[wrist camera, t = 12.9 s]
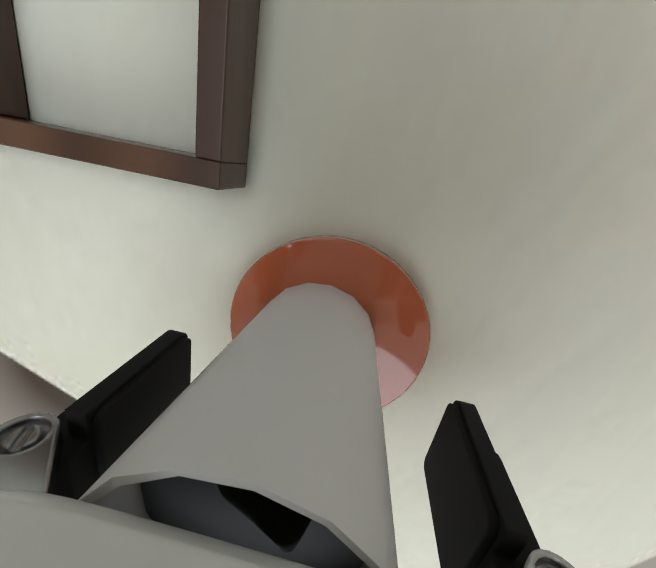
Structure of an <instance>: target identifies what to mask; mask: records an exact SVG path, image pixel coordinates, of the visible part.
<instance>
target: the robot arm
mask: <svg viewBox="0 0 656 568" xmlns="http://www.w3.org/2000/svg"><path fill="white" fill-rule="evenodd" d="M190 374H191V340H190V339H189V338H188V336H187V334H186V333H182V332H178V331H174V330H168V331H167V332H165V333H164V334H163V335H162V336H160V337H159V338H158V339H156V340H155V341H154V342H152V343H151V344H150V345H148V346H147V347H146V348H145V349H143V350H142V351H141V352H139V353H138V354H137V355H135V356H134V357H133V358H132V359H130V360H129V361H128V362H126V363H125V364H124V365H122V366H121V367H120V368H118V369H117V370H116V371H115V372H113V373H112V374H111V375H109V376H108V377H107V378H105V379H104V380H103V381H102V382H100V383H99V384H98V385H96V386H95V387H94V388H92V389H91V390H90V391H88V392H87V393H86V394H85V395H83V396H82V397H81V398H79V399H78V400H77V401H75V402H74V403H73V404H72V405H70V406H69V407H68V408H66V409H65V411H64V412H63V413H61V414H60V415H59V416H57V417H56V416H55V415H52V414H50V413H40V412H39V413H31V414H26V415H23V416H19V417H16V418H14V419H11V420H9V421H7V422H5V423H3V424H1V425H0V568H314V567H310V566H307V565H304V564H300V563H297V562H293V561H290V560H287V559H283V558H280V557H277V556H273V555H270V554H266V553H263V552H260V551H256V550H253V549H249V548H246V547H243V546H239V545H236V544H232V543H229V542H225V541H222V540H219V539H215V538H212V537H208V536H205V535H201V534H198V533H195V532H191V531H188V530H184V529H181V528H177V527H174V526H170V525H167V524H163V523H160V522H156V521H153V520H149V519H146V518H142V517H139V516H135V515H132V514H128V513H125V512H121V511H118V510H114V509H110V508H106V507H102V506H99V505H95V504H91V503H87V502H83V501H80V500H79V498H80V497H81V496H82V495H83V494H84V493H85V492H86V491H87V490H88V489H89V488H90V487H91V486H92V485H93V484H94V483H95V482H96V481H97V480H98V479H99V478H100V477H101V476H102V475H103V474H104V473H105V472H106V471H107V470H108V469H109V467H110V466H111V465H112V464H113V463H114V462H115V461H116V460H117V459H118V458H119V457H120V456H121V455H122V454H123V453H124V452H125V451H126V450H127V449H128V448H129V447H130V446H131V445H132V444H133V443H134V442H135V441H136V440H137V439H138V438H139V436H140V435H141V434H142V433H143V432H144V431H145V430H146V429H147V428H148V427H149V426H150V425H151V424H152V423H153V422H154V421H155V420H156V419H157V418H158V417H159V416H160V415H161V414H162V413H163V412H164V411H165V410H166V409H167V408H168V407H169V406H170V404H171V403H172V402H173V401H174V400H175V399H176V398H177V397H178V396H179V395H180V394H181V393H182V392H183V391H184V390H185V389H186V388H187V387H188V386H189V385H190ZM424 471H425V477H426V483H427V489H428V495H429V501H430V507H431V513H432V519H433V525H434V531H435V537H436V542H437V548H438V554H439V560H440V566H441V568H574V567H573V566H572V565H571V564H570V563H569V562H567V561H566V560H564V559H563V558H562V557H560V556H559V555H557V554H555V553H553V552H551V551H548V550H543V549H540V547H539V545H538V542H537V540H536V538H535V536H534V533H533V531H532V529H531V526H530V524H529V522H528V520H527V517H526V515H525V513H524V511H523V508H522V506H521V504H520V501H519V499H518V497H517V495H516V492H515V490H514V488H513V486H512V483H511V481H510V479H509V477H508V474H507V472H506V470H505V467H504V465H503V463H502V461H501V459H500V457H499V455H498V454H497V453H495V451H494V448H493V446H492V444H491V441H490V439H489V437H488V434H487V432H486V430H485V427H484V425H483V423H482V420H481V418H480V416H479V413H478V411H477V409H476V407H475V405H473V404H470V403H466V402H462V401H455V402H454V403H453V404H451V403H449V404H448V406H447V408H446V410H445V413H444V415H443V417H442V420H441V422H440V424H439V427H438V429H437V431H436V434H435V436H434V439H433V441H432V443H431V446H430V448H429V450H428V453H427V455H426V457H425V461H424Z"/></svg>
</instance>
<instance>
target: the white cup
mask: <svg viewBox="0 0 656 568" xmlns="http://www.w3.org/2000/svg"><path fill="white" fill-rule="evenodd" d="M79 500H80V501H83V502H87V503H91V504H95V505H99V506H102V507H106V508H110V509H114V510H118V511H121V512H125V513H128V514H132V515H135V516H139V517H142V518H146V519H149V520H153V521H156V522H160V523H163V524H167V525H170V526H174V527H177V528H181V529H184V530H188V531H191V532H195V533H198V534H201V535H205V536H208V537H212V538H215V539H219V540H222V541H225V542H229V543H232V544H236V545H239V546H243V547H246V548H249V549H253V550H256V551H260V552H263V553H266V554H270V555H273V556H277V557H280V558H283V559H287V560H290V561H293V562H297V563H300V564H304V565H307V566H310V567H314V568H398V564H397V554H396V544H395V534H394V524H393V514H392V504H391V495H390V485H389V475H388V465H387V455H386V445H385V435H384V425H383V415H382V405H381V396H380V386H379V376H378V366H377V356H376V346H375V335H374V332H373V328H372V325H371V322H370V318H369V315H368V314H367V312H366V311H365V310H364V309H363V308H362V306H361V305H360V304H359V303H358V302H357V301H356V299H355V298H354V297H353V296H351V295H349V294H347V293H345V292H343V291H341V290H340V289H338V288H336V287H334V286H332V285H324V284H316V283H305V284H301V285H297V286H293V287H290V288H286V289H285V290H284V291H282V292H281V293H280V294H279V295H277V296H276V297H275V298H274V299H272V300H271V301H270V302H269V303H268V304H267V305H266V306H265V307H264V308H263V309H262V310H261V311H260V313H259V314H258V315H257V316H256V317H255V318H254V319H253V320H252V321H251V322H250V323H249V324H248V325H247V326H246V327H245V328H244V329H243V330H242V331H241V332H240V333H239V334H238V335H237V336H236V337H235V338H234V339H233V340H232V341H231V342H230V344H229V345H228V346H227V347H226V348H225V349H224V350H223V351H222V352H221V353H220V354H219V355H218V356H217V357H216V358H215V359H214V360H213V361H212V362H211V363H210V364H209V365H208V366H207V367H206V368H205V369H204V370H203V371H202V372H201V373H200V375H199V376H198V377H197V378H196V379H195V380H194V381H193V382H192V383H191V384H190V385H189V386H188V387H187V388H186V389H185V390H184V391H183V392H182V393H181V394H180V395H179V396H178V397H177V398H176V399H175V400H174V401H173V402H172V403H171V404H170V406H169V407H168V408H167V409H166V410H165V411H164V412H163V413H162V414H161V415H160V416H159V417H158V418H157V419H156V420H155V421H154V422H153V423H152V424H151V425H150V426H149V427H148V428H147V429H146V430H145V431H144V432H143V433H142V434H141V435H140V436H139V438H138V439H137V440H136V441H135V442H134V443H133V444H132V445H131V446H130V447H129V448H128V449H127V450H126V451H125V452H124V453H123V454H122V455H121V456H120V457H119V458H118V459H117V460H116V461H115V462H114V463H113V464H112V465H111V466H110V467H109V469H108V470H107V471H106V472H105V473H104V474H103V475H102V476H101V477H100V478H99V479H98V480H97V481H96V482H95V483H94V484H93V485H92V486H91V487H90V488H89V489H88V490H87V491H86V492H85V493H84V494H83V495H82V496H81V497H80V498H79Z"/></svg>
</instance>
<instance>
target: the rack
mask: <svg viewBox="0 0 656 568" xmlns="http://www.w3.org/2000/svg"><path fill="white" fill-rule="evenodd" d="M259 5H260V0H199V31H198V72H197V113H196V154H193V153H188V152H184V151H179V150H174V149H169V148H164V147H159V146H154V145H149V144H144V143H139V142H134V141H129V140H125V139H120V138H115V137H110V136H105V135H100V134H95V133H90V132H85V131H80V130H75V129H70V128H66V127H61V126H56V125H51V124H46V123H41V122H36V121H31V120H27V119H29V114H28V107H27V101H26V94H25V88H24V81H23V75H22V68H21V62H20V55H19V49H18V42H17V36H16V29H15V23H14V16H13V10H12V3H11V0H0V144H2V145H7V146H12V147H16V148H21V149H26V150H31V151H35V152H40V153H45V154H50V155H54V156H59V157H64V158H69V159H73V160H78V161H83V162H88V163H92V164H97V165H102V166H107V167H111V168H116V169H121V170H126V171H130V172H135V173H140V174H145V175H149V176H154V177H159V178H164V179H168V180H173V181H178V182H183V183H188V184H192V185H197V186H202V187H207V188H211V189H216V190H223V189H233V188H243V187H245V177H246V163H247V152H248V140H249V127H250V115H251V103H252V91H253V79H254V66H255V54H256V42H257V30H258V17H259Z"/></svg>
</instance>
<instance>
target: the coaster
mask: <svg viewBox="0 0 656 568" xmlns="http://www.w3.org/2000/svg"><path fill="white" fill-rule="evenodd" d="M305 283H316V284H324V285H332V286H334V287H336V288H338V289H340V290H341V291H343V292H345V293H347V294H349V295H351V296H353V297H354V298H355V299H356V301H357V302H358V303H359V304H360V305H361V306H362V308H363V309H364V310H365V311H366V312H367V314H368V315H369V318H370V322H371V325H372V328H373V332H374V335H375V346H376V356H377V366H378V376H379V386H380V396H381V405H382V407H383V406H385V405H387V404H389V403H390V402H392V401H393V400H395V399H396V398H398V397H399V396H400V395H401V394H402V393H404V392H405V391H406V390H407V389H408V388H409V387H410V385H411V384H412V383H413V382H414V381H415V379H416V378H417V376H418V374H419V373H420V371H421V369H422V367H423V365H424V362H425V360H426V356H427V353H428V349H429V341H430V325H429V320H428V314H427V311H426V308H425V305H424V302H423V299H422V297H421V295H420V293H419V291H418V289H417V287H416V285H415V284H414V282H413V281H412V279H411V278H410V277H409V275H408V274H407V273H406V272H405V271H404V270H403V269H402V268H401V267H400V266H399V265H398V263H396V262H395V261H394V260H392V259H391V258H390V257H389V256H387V255H386V254H384V253H383V252H381V251H379V250H378V249H376V248H374V247H372V246H370V245H367V244H365V243H363V242H360V241H356V240H353V239H349V238H344V237H338V236H311V237H304V238H300V239H296V240H292V241H290V242H288V243H285V244H283V245H280V246H278V247H277V248H275V249H273V250H272V251H270V252H268V253H267V254H266V255H264V256H263V257H262V258H261V259H259V260H258V261H257V262H256V263H255V264H254V265H253V266H252V267H251V268H250V269H249V270H248V271H247V273H246V274H245V276H244V277H243V279H242V280H241V282H240V284H239V286H238V288H237V290H236V293H235V296H234V299H233V302H232V309H231V333H232V339H234V338H235V337H236V336H237V335H238V334H239V333H240V332H241V331H242V330H243V329H244V328H245V327H246V326H247V325H248V324H249V323H250V322H251V321H252V320H253V319H254V318H255V317H256V316H257V315H258V314H259V313H260V311H261V310H262V309H263V308H264V307H265V306H266V305H267V304H268V303H269V302H270V301H271V300H272V299H274V298H275V297H276V296H277V295H279V294H280V293H281V292H282V291H284V290H285V289H286V288H290V287H293V286H297V285H301V284H305Z"/></svg>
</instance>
